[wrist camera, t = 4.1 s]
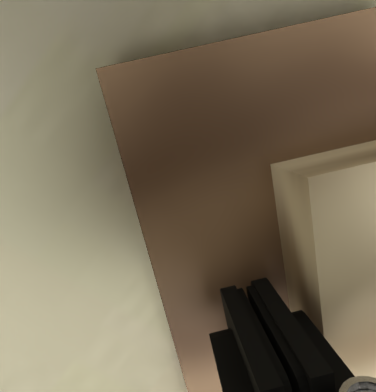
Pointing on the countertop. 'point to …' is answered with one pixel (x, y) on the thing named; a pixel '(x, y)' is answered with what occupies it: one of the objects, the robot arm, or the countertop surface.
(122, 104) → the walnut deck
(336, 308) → the maple tile
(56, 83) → the countertop surface
